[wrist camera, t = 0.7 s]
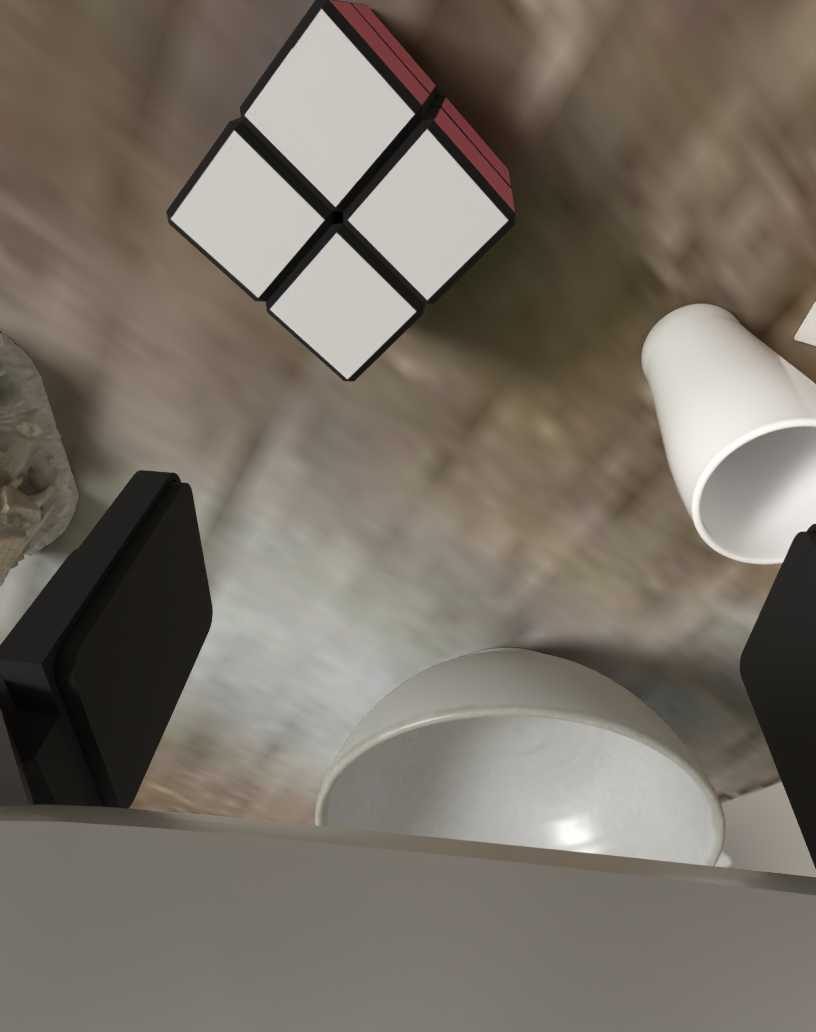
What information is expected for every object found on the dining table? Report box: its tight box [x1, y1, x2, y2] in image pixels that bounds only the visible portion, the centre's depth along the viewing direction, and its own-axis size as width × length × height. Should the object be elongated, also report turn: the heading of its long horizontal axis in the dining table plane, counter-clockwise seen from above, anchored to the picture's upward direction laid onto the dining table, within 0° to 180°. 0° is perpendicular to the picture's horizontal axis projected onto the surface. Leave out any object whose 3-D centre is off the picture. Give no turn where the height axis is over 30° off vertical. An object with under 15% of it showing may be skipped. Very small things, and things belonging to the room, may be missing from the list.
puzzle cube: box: [166, 0, 515, 381], centre depth 31 cm, size 10×10×10 cm
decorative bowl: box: [315, 648, 725, 866], centre depth 52 cm, size 27×27×12 cm
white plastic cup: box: [641, 304, 816, 564], centre depth 33 cm, size 7×7×15 cm
